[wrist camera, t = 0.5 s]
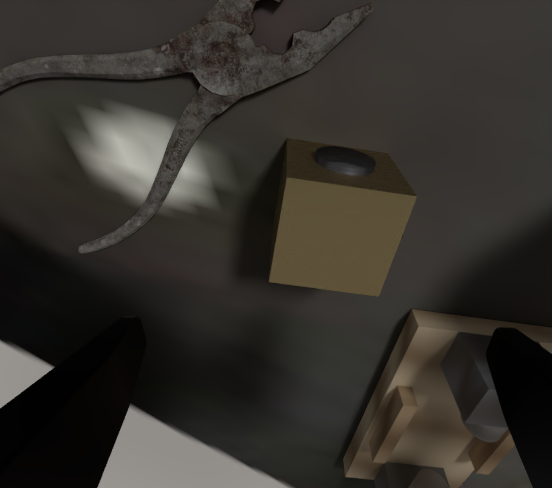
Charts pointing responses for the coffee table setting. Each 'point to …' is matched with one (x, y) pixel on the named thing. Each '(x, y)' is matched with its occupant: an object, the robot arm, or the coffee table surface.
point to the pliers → (209, 72)
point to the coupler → (337, 218)
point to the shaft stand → (435, 406)
